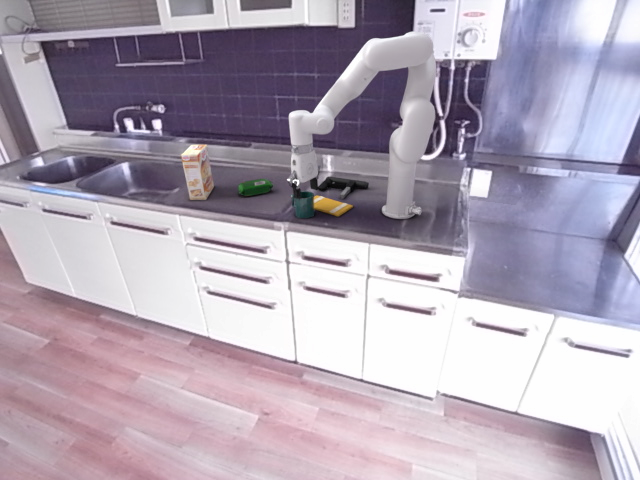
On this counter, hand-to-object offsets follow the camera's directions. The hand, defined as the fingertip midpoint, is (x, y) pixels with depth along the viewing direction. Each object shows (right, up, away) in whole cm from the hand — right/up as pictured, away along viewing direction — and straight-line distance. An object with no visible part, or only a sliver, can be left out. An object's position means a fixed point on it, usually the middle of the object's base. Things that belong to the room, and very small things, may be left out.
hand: (306, 193), depth 139 cm
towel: (+8, -4, +10) cm, 13 cm away
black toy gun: (+15, +4, +24) cm, 28 cm away
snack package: (-22, +3, +24) cm, 33 cm away
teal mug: (-2, -7, +5) cm, 9 cm away
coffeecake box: (-46, +3, +25) cm, 52 cm away
